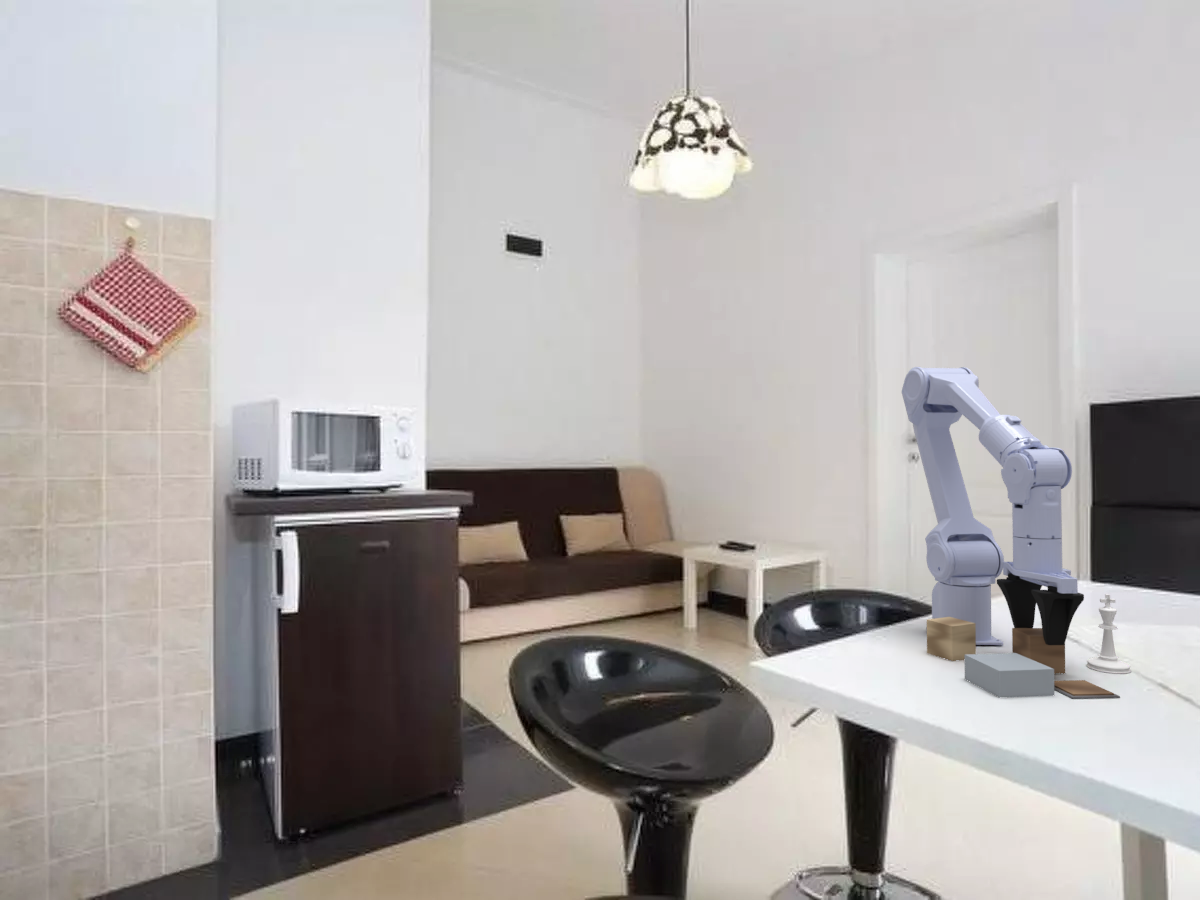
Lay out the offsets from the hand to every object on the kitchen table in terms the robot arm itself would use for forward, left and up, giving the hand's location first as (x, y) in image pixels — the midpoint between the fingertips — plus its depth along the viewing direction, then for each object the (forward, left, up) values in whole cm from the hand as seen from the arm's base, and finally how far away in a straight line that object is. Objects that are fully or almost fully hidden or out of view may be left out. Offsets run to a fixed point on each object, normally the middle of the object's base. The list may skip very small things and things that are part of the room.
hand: (1038, 637), depth 97 cm
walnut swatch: (+9, 0, -4) cm, 10 cm away
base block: (+8, -8, -5) cm, 12 cm away
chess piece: (0, +9, -5) cm, 10 cm away
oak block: (-6, -9, -4) cm, 12 cm away
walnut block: (0, 0, -4) cm, 4 cm away
